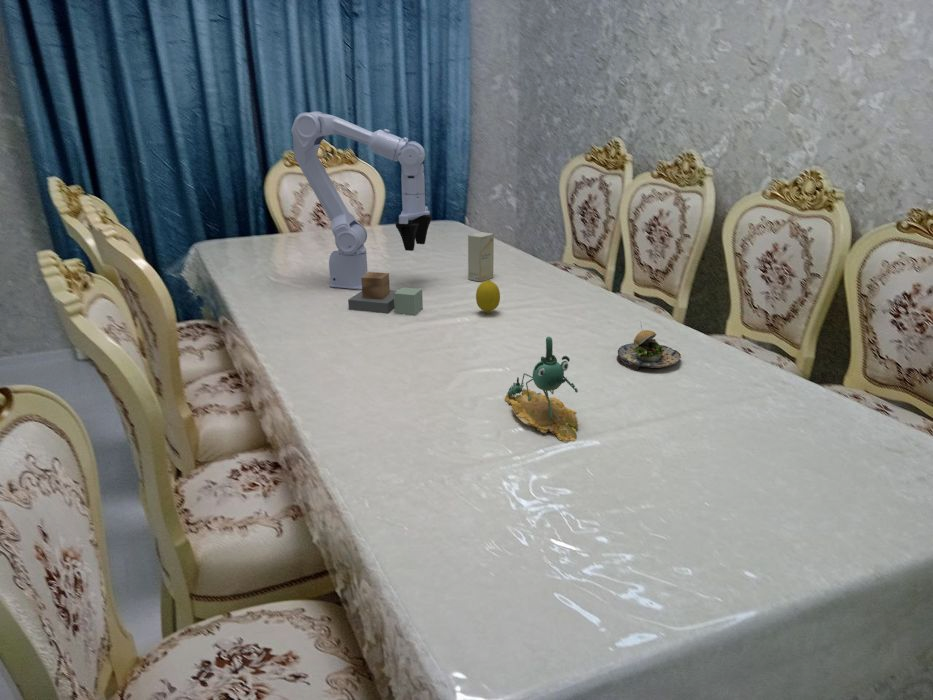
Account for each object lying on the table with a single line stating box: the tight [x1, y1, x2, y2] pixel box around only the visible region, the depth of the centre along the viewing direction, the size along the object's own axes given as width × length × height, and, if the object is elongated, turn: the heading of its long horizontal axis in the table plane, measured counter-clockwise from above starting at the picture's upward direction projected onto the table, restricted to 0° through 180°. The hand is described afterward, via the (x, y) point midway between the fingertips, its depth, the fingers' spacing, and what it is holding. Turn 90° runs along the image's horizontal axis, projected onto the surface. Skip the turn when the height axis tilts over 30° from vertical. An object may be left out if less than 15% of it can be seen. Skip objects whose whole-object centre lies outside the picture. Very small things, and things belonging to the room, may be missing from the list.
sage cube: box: [394, 286, 424, 316], centre depth 153 cm, size 5×5×5 cm
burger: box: [616, 321, 682, 372], centre depth 125 cm, size 12×12×8 cm
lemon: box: [475, 279, 501, 314], centre depth 151 cm, size 6×6×8 cm
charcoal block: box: [347, 289, 397, 315], centre depth 158 cm, size 10×10×3 cm
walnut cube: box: [361, 271, 391, 299], centre depth 157 cm, size 5×5×5 cm
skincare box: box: [467, 231, 495, 283], centre depth 178 cm, size 6×4×12 cm
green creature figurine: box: [504, 336, 579, 443], centre depth 102 cm, size 10×18×15 cm, turn 22°
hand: (415, 247), depth 170 cm, fingers open, 7 cm apart
